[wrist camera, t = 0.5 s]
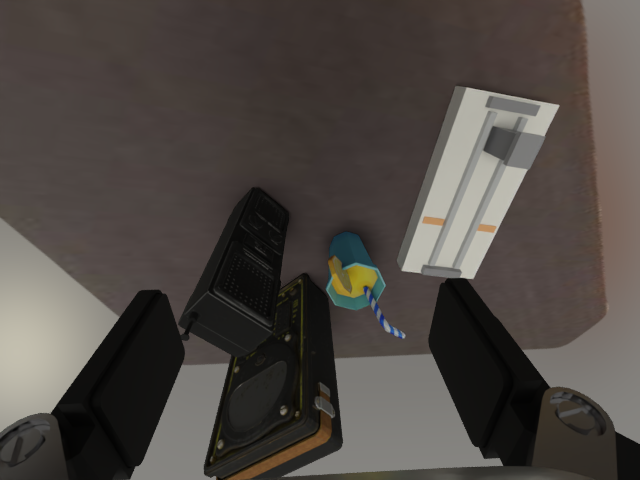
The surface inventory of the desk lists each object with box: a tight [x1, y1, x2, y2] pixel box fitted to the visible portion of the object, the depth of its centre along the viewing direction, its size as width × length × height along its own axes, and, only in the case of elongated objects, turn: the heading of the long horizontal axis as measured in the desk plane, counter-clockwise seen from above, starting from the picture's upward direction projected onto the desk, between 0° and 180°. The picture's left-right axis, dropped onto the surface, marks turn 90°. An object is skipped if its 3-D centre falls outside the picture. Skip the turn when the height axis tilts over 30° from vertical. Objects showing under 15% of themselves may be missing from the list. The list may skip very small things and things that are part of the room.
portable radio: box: [178, 188, 289, 357], centre depth 35 cm, size 8×6×25 cm
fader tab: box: [483, 126, 545, 170], centre depth 36 cm, size 4×3×6 cm
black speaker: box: [204, 274, 343, 480], centre depth 44 cm, size 16×9×25 cm, turn 128°
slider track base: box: [397, 86, 559, 279], centre depth 44 cm, size 26×12×4 cm, turn 171°
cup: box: [326, 231, 405, 339], centre depth 43 cm, size 14×8×15 cm, turn 48°
